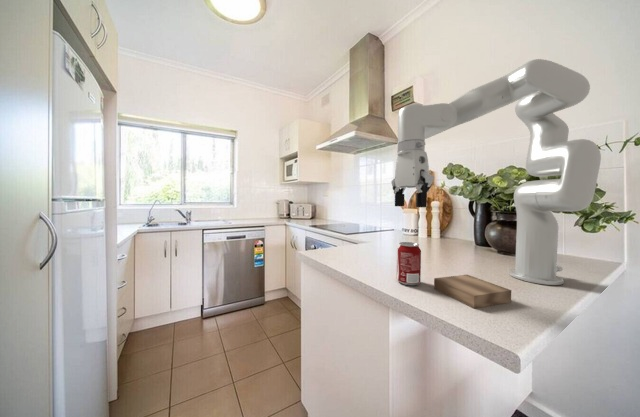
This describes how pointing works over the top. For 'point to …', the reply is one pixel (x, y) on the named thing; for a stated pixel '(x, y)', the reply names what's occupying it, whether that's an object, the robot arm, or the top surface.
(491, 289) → the base block
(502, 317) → the top surface
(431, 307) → the top surface
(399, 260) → the soda can
